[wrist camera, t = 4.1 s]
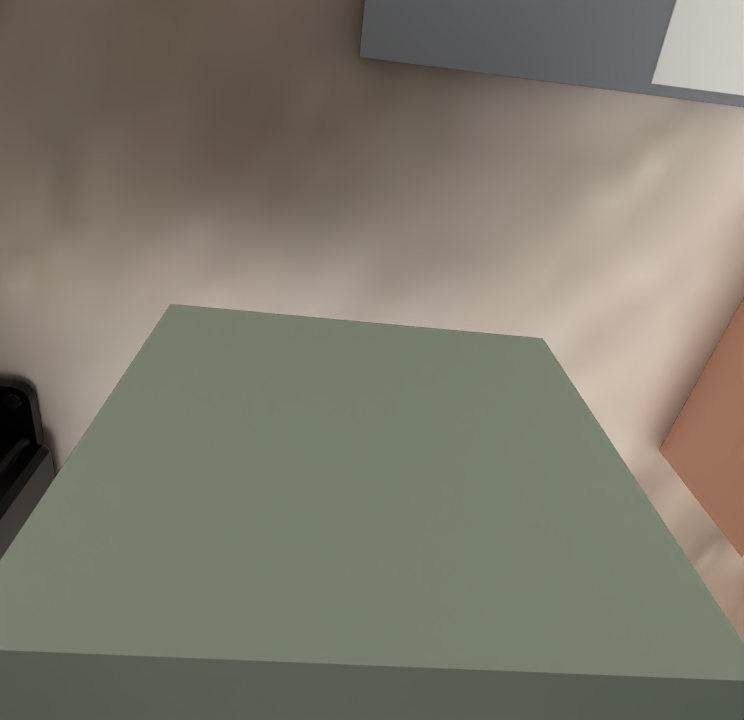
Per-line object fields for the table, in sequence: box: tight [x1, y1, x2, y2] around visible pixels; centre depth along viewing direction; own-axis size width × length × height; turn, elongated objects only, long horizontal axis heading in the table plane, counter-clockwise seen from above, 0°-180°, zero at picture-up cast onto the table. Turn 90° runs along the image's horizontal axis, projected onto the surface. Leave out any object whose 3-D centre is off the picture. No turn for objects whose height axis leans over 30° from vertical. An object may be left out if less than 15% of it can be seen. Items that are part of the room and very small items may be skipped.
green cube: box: [0, 304, 744, 720], centre depth 6 cm, size 4×4×4 cm
